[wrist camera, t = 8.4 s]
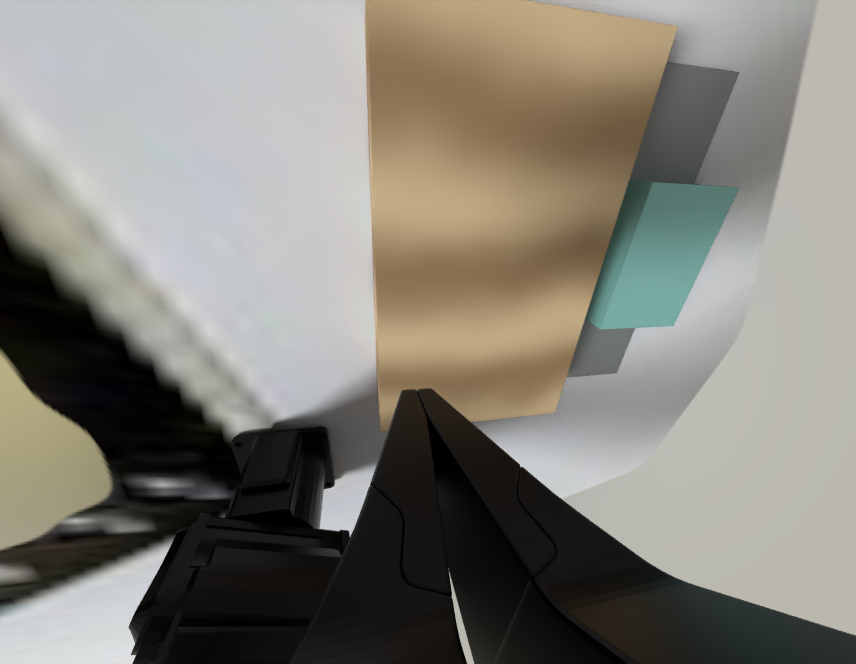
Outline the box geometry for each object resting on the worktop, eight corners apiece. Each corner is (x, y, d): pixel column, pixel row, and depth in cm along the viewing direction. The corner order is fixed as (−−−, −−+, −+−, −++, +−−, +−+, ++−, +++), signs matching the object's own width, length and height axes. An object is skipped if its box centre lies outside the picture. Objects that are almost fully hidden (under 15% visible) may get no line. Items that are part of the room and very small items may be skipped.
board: (528, 378, 25) (554, 412, 22) (377, 390, 23) (380, 431, 19) (607, 55, 16) (678, 26, 12) (364, 21, 13) (367, -27, 10)
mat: (613, 371, 27) (616, 373, 26) (528, 378, 25) (529, 380, 25) (733, 73, 17) (739, 72, 17) (607, 55, 16) (611, 54, 15)
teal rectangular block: (600, 329, 21) (582, 316, 23) (673, 325, 22) (650, 314, 24) (652, 182, 17) (625, 180, 19) (739, 187, 18) (706, 185, 20)
